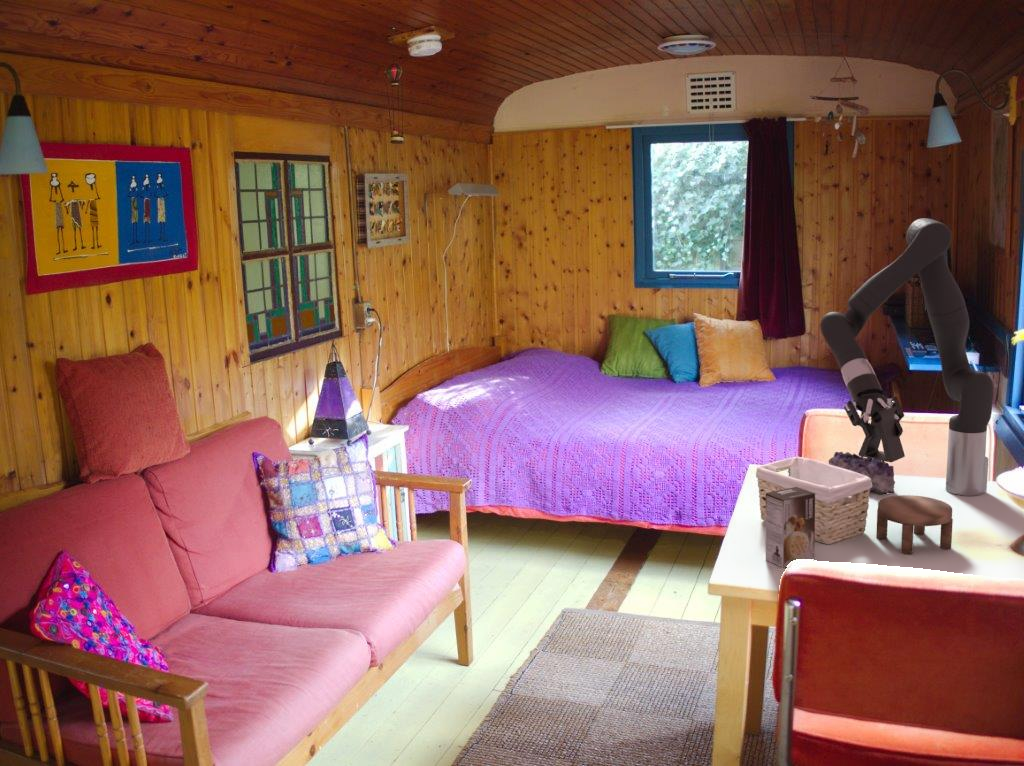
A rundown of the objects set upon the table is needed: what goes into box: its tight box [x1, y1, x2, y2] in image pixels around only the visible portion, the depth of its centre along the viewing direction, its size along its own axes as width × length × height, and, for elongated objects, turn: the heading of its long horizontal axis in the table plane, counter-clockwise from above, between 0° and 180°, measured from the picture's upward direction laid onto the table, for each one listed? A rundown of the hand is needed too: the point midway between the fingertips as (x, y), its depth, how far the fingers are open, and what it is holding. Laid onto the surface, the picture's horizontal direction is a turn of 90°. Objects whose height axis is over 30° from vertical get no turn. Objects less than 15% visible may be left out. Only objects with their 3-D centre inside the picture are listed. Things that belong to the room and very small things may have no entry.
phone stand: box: [858, 407, 906, 463], centre depth 241 cm, size 9×6×12 cm, turn 40°
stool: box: [875, 494, 954, 556], centre depth 229 cm, size 16×16×9 cm
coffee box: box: [765, 487, 816, 569], centre depth 221 cm, size 9×6×16 cm
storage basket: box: [755, 456, 872, 545], centre depth 241 cm, size 24×16×15 cm
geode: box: [828, 451, 896, 495], centre depth 272 cm, size 20×12×10 cm, turn 39°
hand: (886, 436), depth 239 cm, fingers closed on phone stand, 6 cm apart
